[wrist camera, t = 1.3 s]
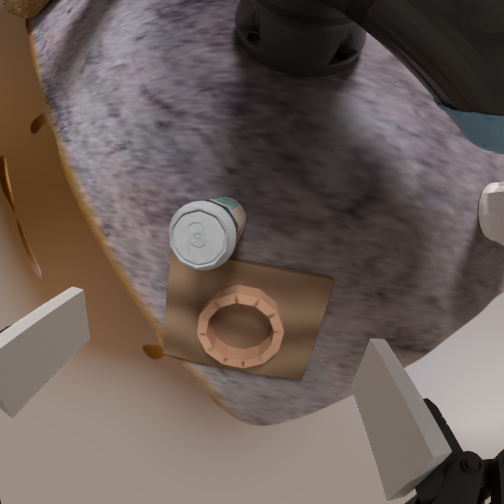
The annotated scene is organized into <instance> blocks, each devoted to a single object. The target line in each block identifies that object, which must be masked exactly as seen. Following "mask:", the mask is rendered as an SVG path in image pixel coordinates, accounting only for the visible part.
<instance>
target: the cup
mask: <svg viewBox="0 0 504 504" xmlns="http://www.w3.org/2000/svg"><path fill="white" fill-rule="evenodd" d="M478 217H479V223H480V227H481V230H482V232H483V234H484V236H485V237H487V238H488V239H489V240H492V241H497V242H498V243H500V244H501V245H503V246H504V181H503V182H499V183H491V184H489V185H487V186H486V188H485V189H484V190H483V192H482V194H481V198H480V202H479V211H478Z"/></svg>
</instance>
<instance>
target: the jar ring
mask: <svg viewBox="0 0 504 504" xmlns="http://www.w3.org/2000/svg"><path fill="white" fill-rule="evenodd" d="M234 303H240V304H245V305H250V306H255V307H256V308H258V309H259V310H260V311H261V312H263V313H264V314H265V315H266V316H268V317H269V319H270V322H271V325H272V330H271V334H270V336H269V337H268V338H267V339H266V340H265V341H263V342H262V343H261V344H260V345H259V346H255V347H251V348H247V349H240V348H235V347H230V346H228V345H226V344H225V343H224V342H222V341H221V340H220V339H218V338H217V337H216V335H215V333H214V331H213V328H212V326H211V324H210V323H211V316H212V315H213V314H214V313H215V312H216V311H217V310H218V309H219V308H220V307H224V306H227V305H231V304H234ZM283 334H284V326H283V320H282V317H281V314H280V311H279V308H278V305H277V303H276V302H275V301H274V300H273V299H271V298H270V297H269V296H268V295H267V294H265V293H264V292H263V291H262V290H261V289H257V288H252V287H247V286H242V285H235V286H232V287H229V288H226V289H222V290H219V291H217V292H216V293H215V294H214V295H213V296H212V298H211V299H210V300H209V301H208V302H207V303H206V304H205V305H204V307H203V309H202V311H201V313H200V315H199V322H198V330H197V335H198V337H199V340H200V342H201V344H202V346H203V348H204V350H205V352H206V353H208V354H209V355H210V356H212V357H213V358H215V359H216V360H217V361H219V362H220V363H222V364H224V365H229V366H234V367H239V368H247V367H251V366H255V365H259V364H263V363H265V362H266V361H267V360H268V359H269V358H271V357H272V356H273V355H274V354H275V353H276V352H277V351H279V348H280V345H281V341H282V338H283Z"/></svg>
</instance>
